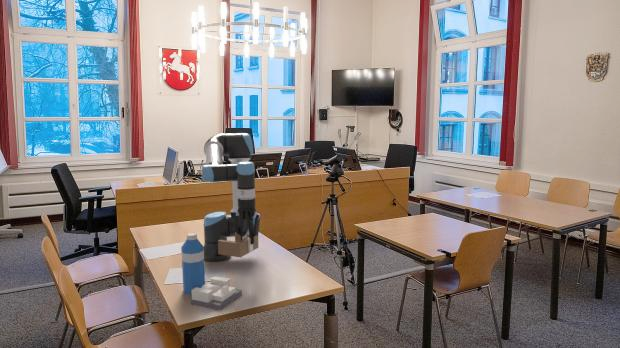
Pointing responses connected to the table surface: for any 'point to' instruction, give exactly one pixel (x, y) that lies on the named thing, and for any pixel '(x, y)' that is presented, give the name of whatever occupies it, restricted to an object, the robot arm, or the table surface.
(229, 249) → the brown open crate
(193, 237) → the water bottle
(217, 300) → the tray of white blocks
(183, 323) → the table surface
